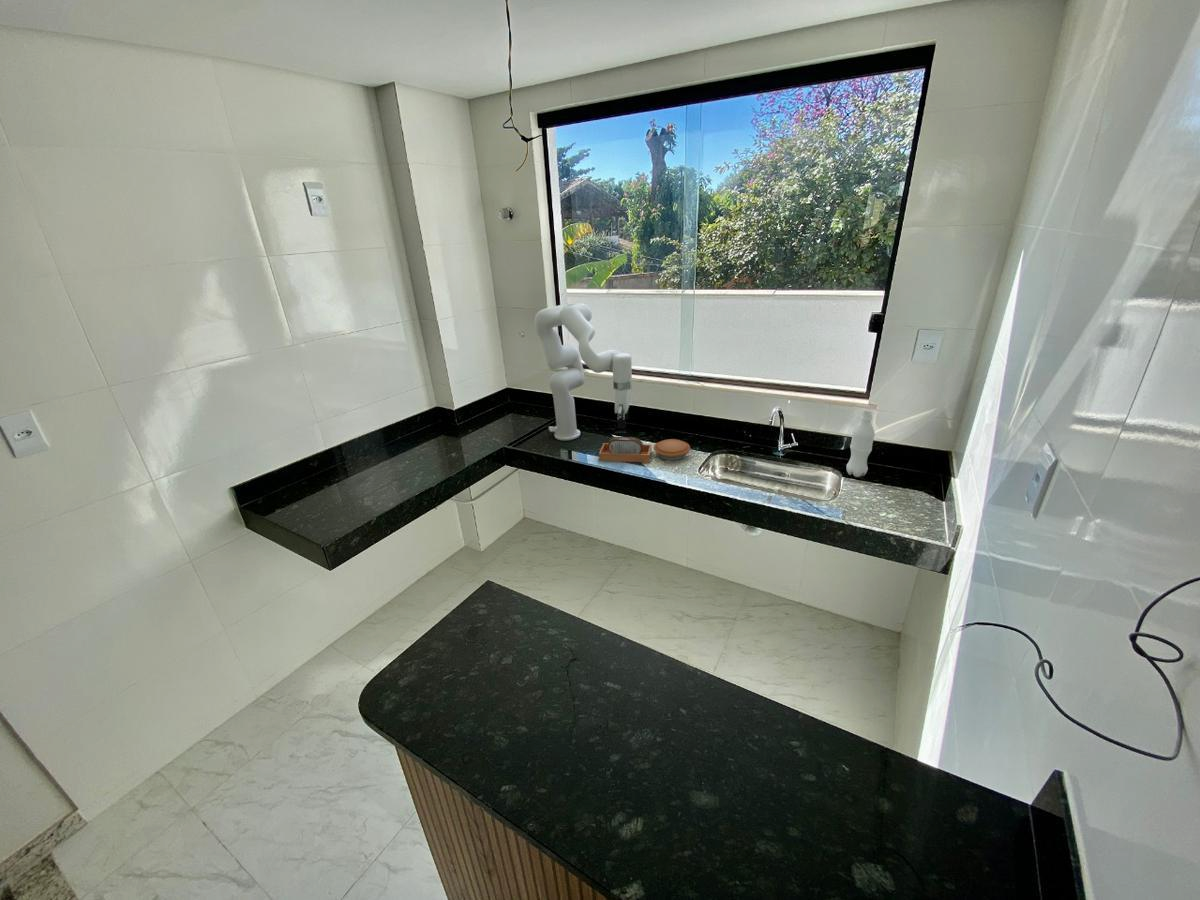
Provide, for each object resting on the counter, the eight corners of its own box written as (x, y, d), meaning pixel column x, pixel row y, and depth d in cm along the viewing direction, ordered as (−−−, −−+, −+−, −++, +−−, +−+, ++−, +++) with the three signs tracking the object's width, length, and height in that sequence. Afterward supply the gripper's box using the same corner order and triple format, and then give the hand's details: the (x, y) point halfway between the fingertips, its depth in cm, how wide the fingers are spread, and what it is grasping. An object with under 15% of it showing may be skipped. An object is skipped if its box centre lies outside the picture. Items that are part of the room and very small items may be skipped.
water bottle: (865, 470, 185) (877, 409, 175) (867, 479, 179) (880, 417, 168) (844, 468, 188) (855, 408, 177) (846, 477, 182) (857, 415, 171)
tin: (643, 454, 208) (643, 436, 204) (642, 457, 205) (642, 439, 202) (609, 453, 211) (608, 435, 208) (607, 456, 208) (606, 438, 205)
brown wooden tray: (599, 460, 207) (598, 453, 205) (604, 450, 216) (603, 443, 214) (649, 462, 202) (648, 455, 201) (651, 451, 211) (651, 444, 210)
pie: (668, 444, 217) (668, 433, 215) (697, 453, 207) (697, 442, 205) (646, 456, 208) (646, 445, 206) (675, 466, 198) (675, 455, 196)
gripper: (616, 377, 203) (618, 415, 211) (609, 391, 188) (610, 431, 196) (634, 377, 202) (635, 415, 209) (628, 392, 187) (629, 432, 194)
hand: (623, 423), depth 203 cm, fingers open, 9 cm apart
